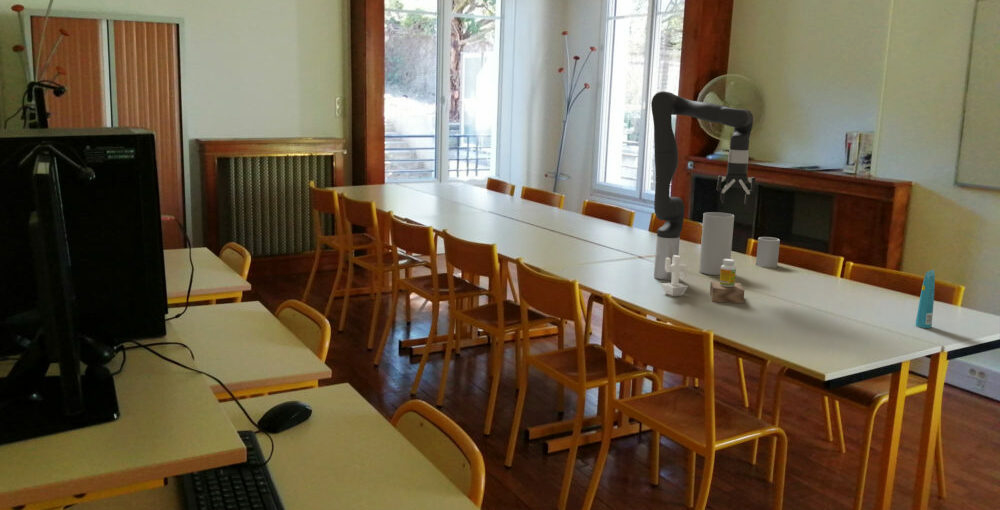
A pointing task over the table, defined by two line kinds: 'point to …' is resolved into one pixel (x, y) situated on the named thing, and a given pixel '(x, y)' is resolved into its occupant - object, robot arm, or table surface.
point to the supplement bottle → (728, 273)
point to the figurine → (675, 276)
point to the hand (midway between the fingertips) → (734, 203)
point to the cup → (767, 252)
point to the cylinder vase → (715, 241)
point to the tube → (926, 301)
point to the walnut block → (726, 293)
